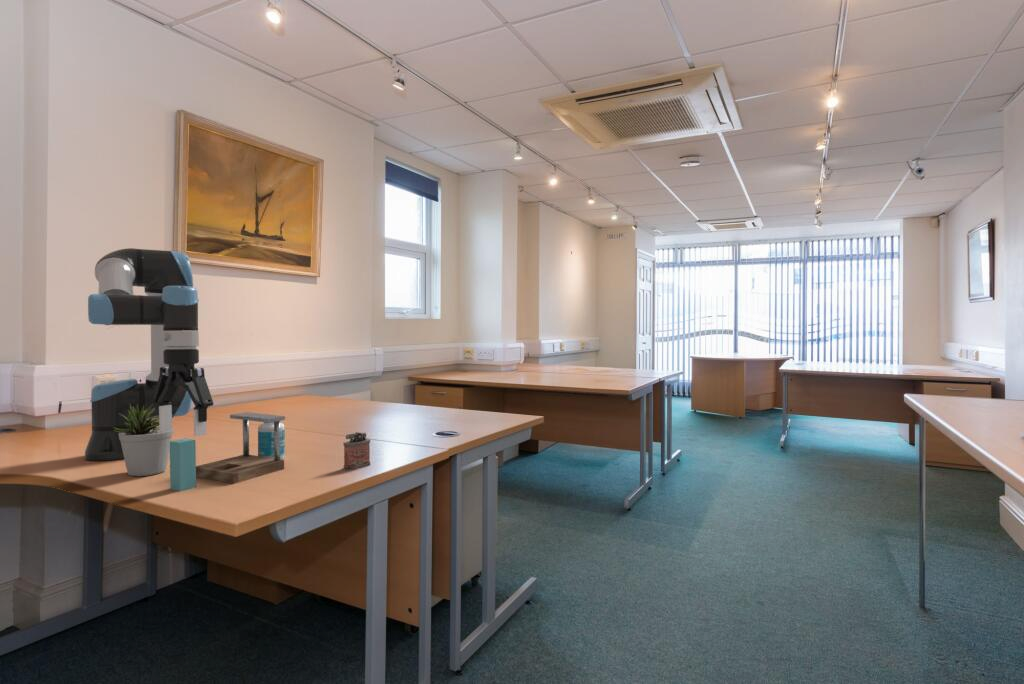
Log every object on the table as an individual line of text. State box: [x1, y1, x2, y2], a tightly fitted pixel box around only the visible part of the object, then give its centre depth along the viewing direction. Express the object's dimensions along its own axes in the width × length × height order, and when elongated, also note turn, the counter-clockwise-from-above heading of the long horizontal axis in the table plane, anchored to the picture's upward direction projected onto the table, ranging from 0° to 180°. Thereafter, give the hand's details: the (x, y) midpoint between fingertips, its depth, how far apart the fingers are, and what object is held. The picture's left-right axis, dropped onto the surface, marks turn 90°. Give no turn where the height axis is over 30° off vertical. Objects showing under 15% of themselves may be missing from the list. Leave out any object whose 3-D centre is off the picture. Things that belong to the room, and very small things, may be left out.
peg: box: [169, 437, 197, 492], centre depth 134 cm, size 4×4×12 cm
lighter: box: [343, 431, 371, 471], centre depth 155 cm, size 8×3×10 cm, turn 134°
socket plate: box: [196, 454, 285, 484], centre depth 149 cm, size 16×16×2 cm
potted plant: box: [113, 404, 174, 477], centre depth 148 cm, size 13×14×20 cm
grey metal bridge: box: [229, 411, 286, 461], centre depth 154 cm, size 16×6×15 cm, turn 64°
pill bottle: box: [257, 422, 286, 460], centre depth 162 cm, size 8×7×14 cm
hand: (182, 433), depth 134 cm, fingers open, 13 cm apart
